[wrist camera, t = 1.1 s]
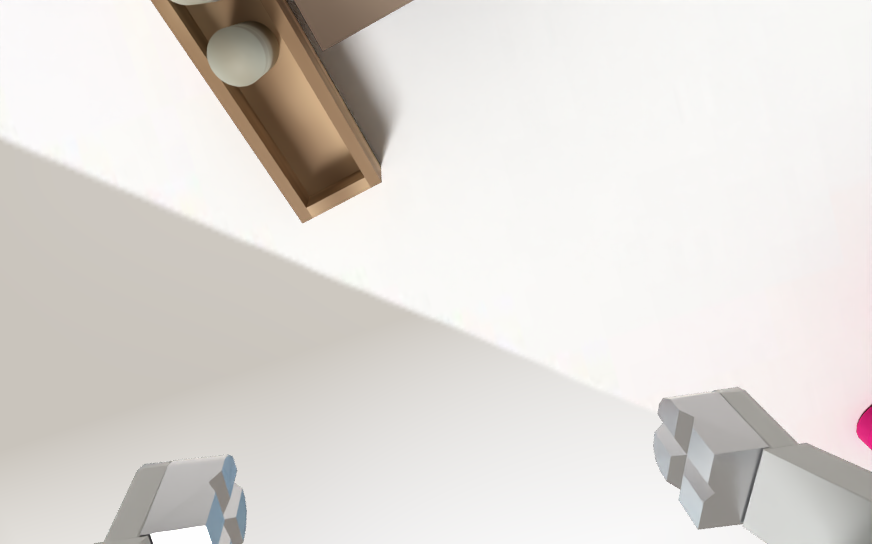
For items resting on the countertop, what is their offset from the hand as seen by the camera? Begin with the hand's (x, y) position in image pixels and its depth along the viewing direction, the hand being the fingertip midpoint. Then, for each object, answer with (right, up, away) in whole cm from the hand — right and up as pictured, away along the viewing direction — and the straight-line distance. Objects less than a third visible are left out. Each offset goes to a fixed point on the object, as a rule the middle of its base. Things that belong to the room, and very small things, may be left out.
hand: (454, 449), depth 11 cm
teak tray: (-11, +17, +25) cm, 32 cm away
